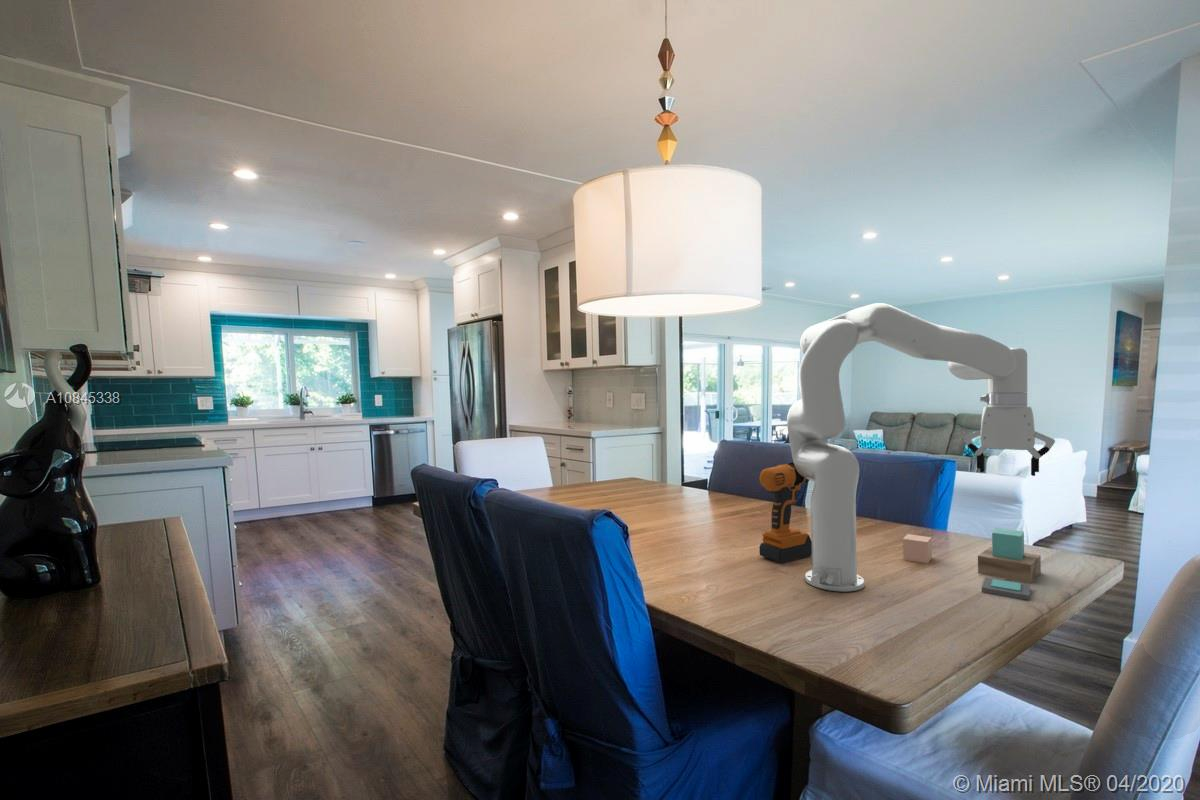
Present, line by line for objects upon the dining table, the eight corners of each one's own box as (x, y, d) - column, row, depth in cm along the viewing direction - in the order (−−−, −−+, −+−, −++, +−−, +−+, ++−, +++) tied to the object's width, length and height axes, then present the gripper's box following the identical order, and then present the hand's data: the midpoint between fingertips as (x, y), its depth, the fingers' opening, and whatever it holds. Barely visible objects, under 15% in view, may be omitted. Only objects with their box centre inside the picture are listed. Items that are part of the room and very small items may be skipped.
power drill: (807, 545, 155) (805, 457, 155) (830, 551, 149) (828, 460, 149) (753, 559, 144) (751, 464, 144) (776, 566, 138) (774, 467, 137)
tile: (1029, 600, 112) (1029, 594, 112) (981, 592, 118) (981, 586, 118) (1030, 588, 119) (1029, 582, 119) (985, 581, 124) (985, 575, 124)
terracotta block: (927, 563, 137) (927, 542, 137) (903, 559, 141) (903, 538, 141) (931, 558, 141) (931, 537, 141) (907, 554, 145) (907, 534, 145)
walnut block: (1030, 585, 122) (1030, 565, 122) (978, 574, 130) (977, 555, 129) (1040, 574, 129) (1040, 555, 128) (989, 564, 136) (989, 546, 136)
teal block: (1021, 560, 125) (1021, 536, 125) (992, 555, 129) (992, 532, 129) (1024, 554, 129) (1023, 531, 129) (995, 550, 133) (995, 527, 133)
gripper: (961, 401, 131) (961, 472, 131) (1055, 401, 120) (1055, 478, 120) (964, 400, 137) (965, 468, 137) (1054, 400, 126) (1054, 474, 126)
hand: (1007, 473), depth 129 cm, fingers open, 9 cm apart
